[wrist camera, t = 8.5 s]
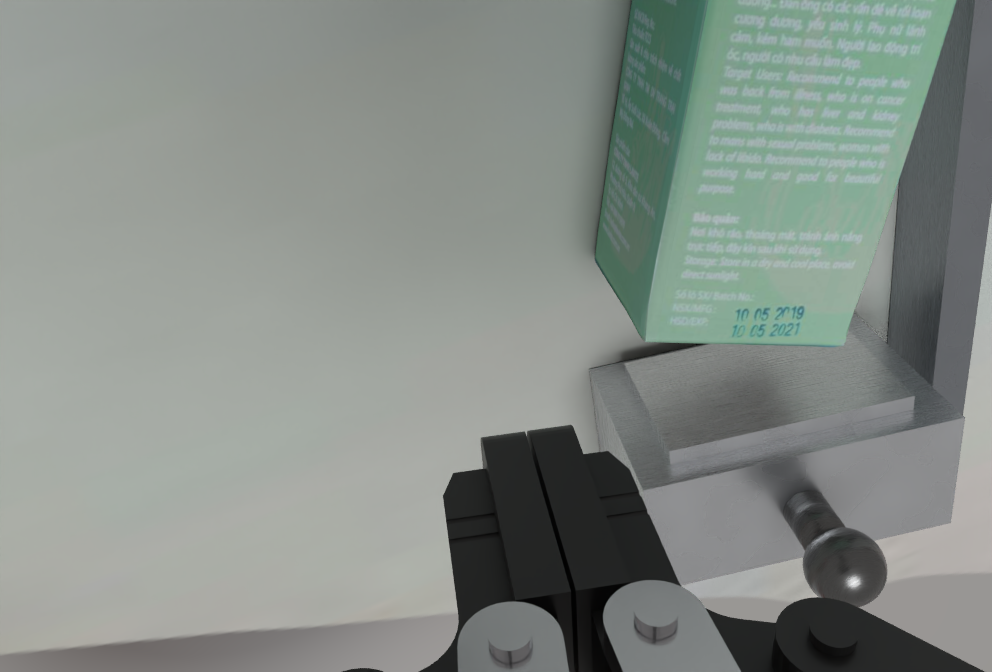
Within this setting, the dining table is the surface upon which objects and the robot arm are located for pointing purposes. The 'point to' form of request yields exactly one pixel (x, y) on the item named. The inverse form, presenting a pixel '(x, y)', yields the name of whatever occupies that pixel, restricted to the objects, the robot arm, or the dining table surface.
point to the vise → (946, 210)
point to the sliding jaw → (783, 455)
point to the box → (759, 161)
